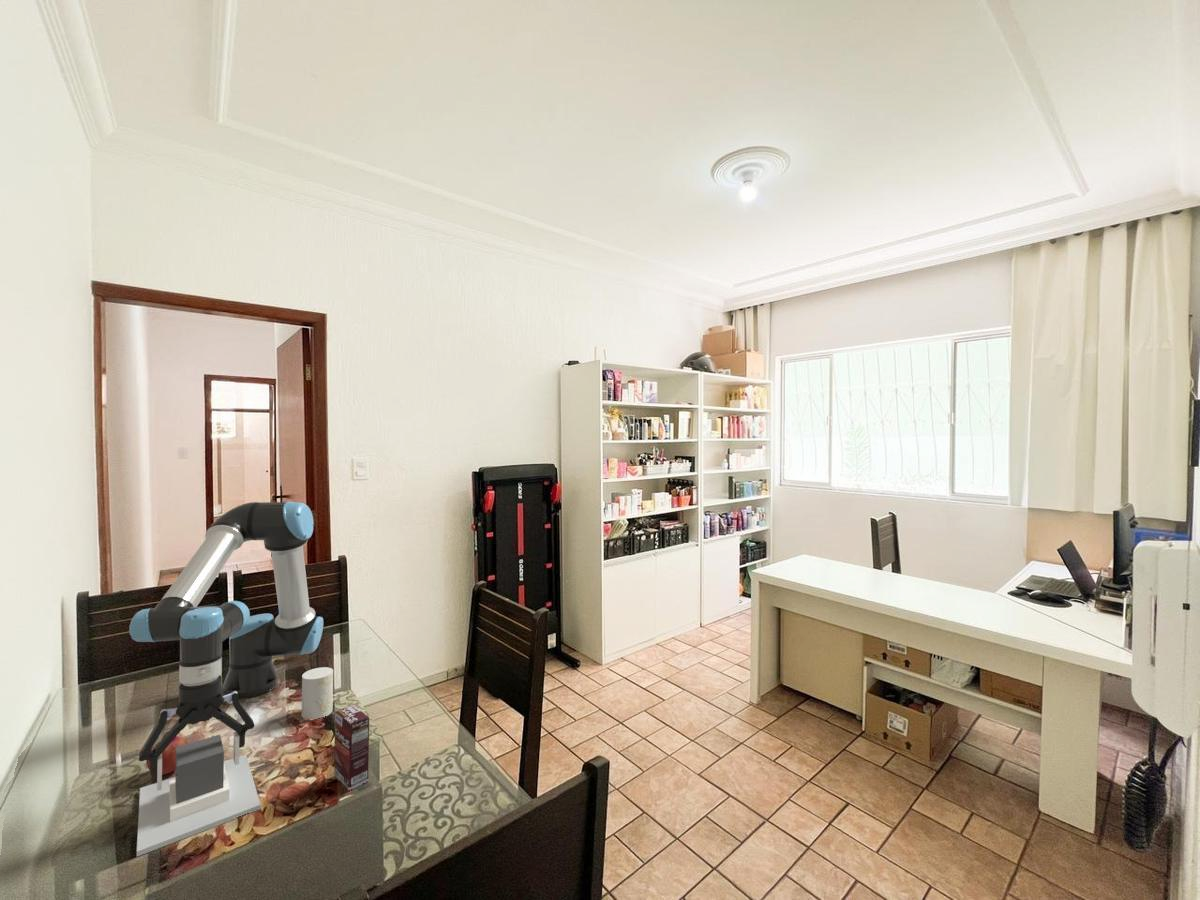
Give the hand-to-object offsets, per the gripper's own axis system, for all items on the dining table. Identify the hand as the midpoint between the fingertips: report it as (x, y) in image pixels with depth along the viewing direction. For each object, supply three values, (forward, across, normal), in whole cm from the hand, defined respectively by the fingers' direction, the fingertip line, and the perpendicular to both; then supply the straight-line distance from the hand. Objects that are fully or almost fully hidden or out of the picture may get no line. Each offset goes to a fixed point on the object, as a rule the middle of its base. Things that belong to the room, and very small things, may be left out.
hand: (199, 774), depth 113 cm
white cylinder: (+6, +29, +25) cm, 39 cm away
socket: (+6, 0, 0) cm, 6 cm away
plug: (+5, 0, 0) cm, 5 cm away
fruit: (+6, -5, +17) cm, 19 cm away
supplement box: (+6, +28, -14) cm, 32 cm away
